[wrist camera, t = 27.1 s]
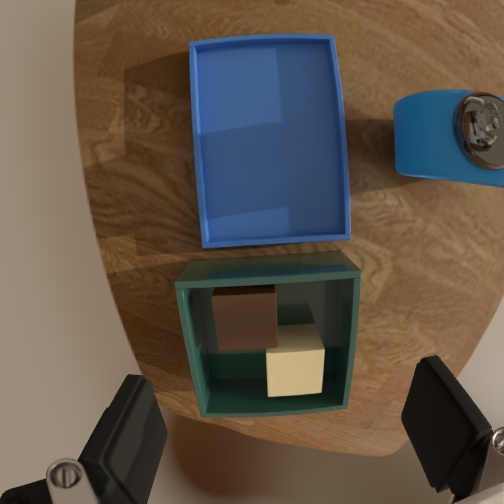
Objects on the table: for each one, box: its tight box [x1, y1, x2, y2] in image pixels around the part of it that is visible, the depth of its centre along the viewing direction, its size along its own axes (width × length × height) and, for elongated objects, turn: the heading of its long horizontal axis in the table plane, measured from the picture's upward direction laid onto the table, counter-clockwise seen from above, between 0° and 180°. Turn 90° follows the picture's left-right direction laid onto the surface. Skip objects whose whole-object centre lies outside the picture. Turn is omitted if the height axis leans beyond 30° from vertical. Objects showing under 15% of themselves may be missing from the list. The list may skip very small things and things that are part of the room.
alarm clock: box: [393, 90, 504, 188], centre depth 18 cm, size 13×6×15 cm, turn 91°
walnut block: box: [211, 284, 278, 350], centre depth 26 cm, size 5×5×5 cm
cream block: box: [266, 323, 325, 397], centre depth 27 cm, size 5×5×5 cm
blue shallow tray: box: [189, 34, 350, 248], centre depth 25 cm, size 19×13×2 cm
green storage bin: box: [174, 251, 361, 418], centre depth 27 cm, size 14×14×6 cm
